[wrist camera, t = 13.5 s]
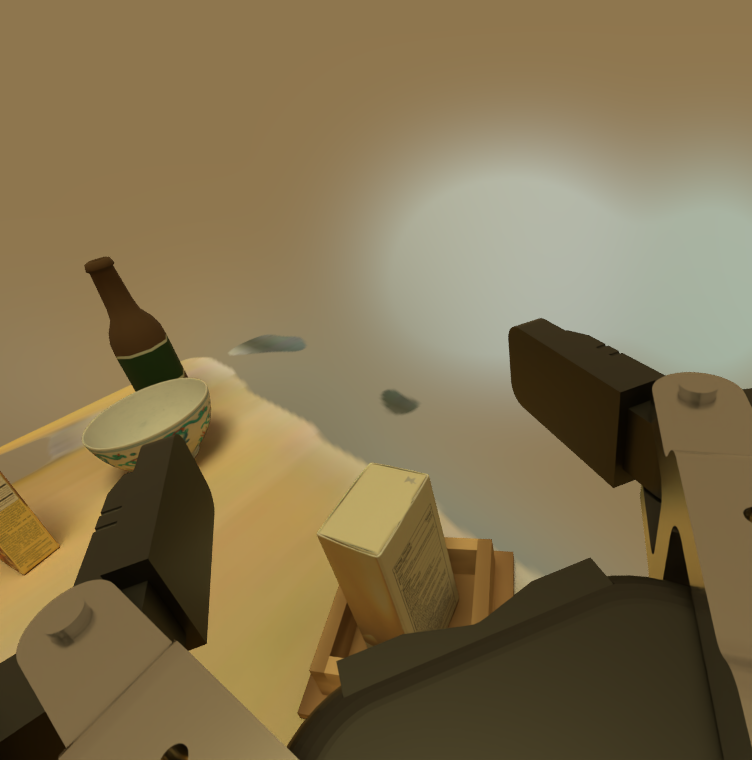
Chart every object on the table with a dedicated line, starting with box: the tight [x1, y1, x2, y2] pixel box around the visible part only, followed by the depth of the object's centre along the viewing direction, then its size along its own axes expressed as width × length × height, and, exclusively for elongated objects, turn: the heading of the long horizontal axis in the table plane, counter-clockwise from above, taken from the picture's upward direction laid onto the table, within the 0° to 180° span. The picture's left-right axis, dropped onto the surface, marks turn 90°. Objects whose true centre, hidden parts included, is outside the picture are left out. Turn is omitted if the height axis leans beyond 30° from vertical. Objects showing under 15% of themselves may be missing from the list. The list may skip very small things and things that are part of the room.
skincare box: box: [317, 463, 459, 648], centre depth 29 cm, size 6×4×12 cm
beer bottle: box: [85, 257, 188, 392], centre depth 67 cm, size 8×8×24 cm
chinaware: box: [82, 378, 211, 471], centre depth 57 cm, size 15×15×8 cm
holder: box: [298, 537, 514, 719], centre depth 31 cm, size 13×13×3 cm
